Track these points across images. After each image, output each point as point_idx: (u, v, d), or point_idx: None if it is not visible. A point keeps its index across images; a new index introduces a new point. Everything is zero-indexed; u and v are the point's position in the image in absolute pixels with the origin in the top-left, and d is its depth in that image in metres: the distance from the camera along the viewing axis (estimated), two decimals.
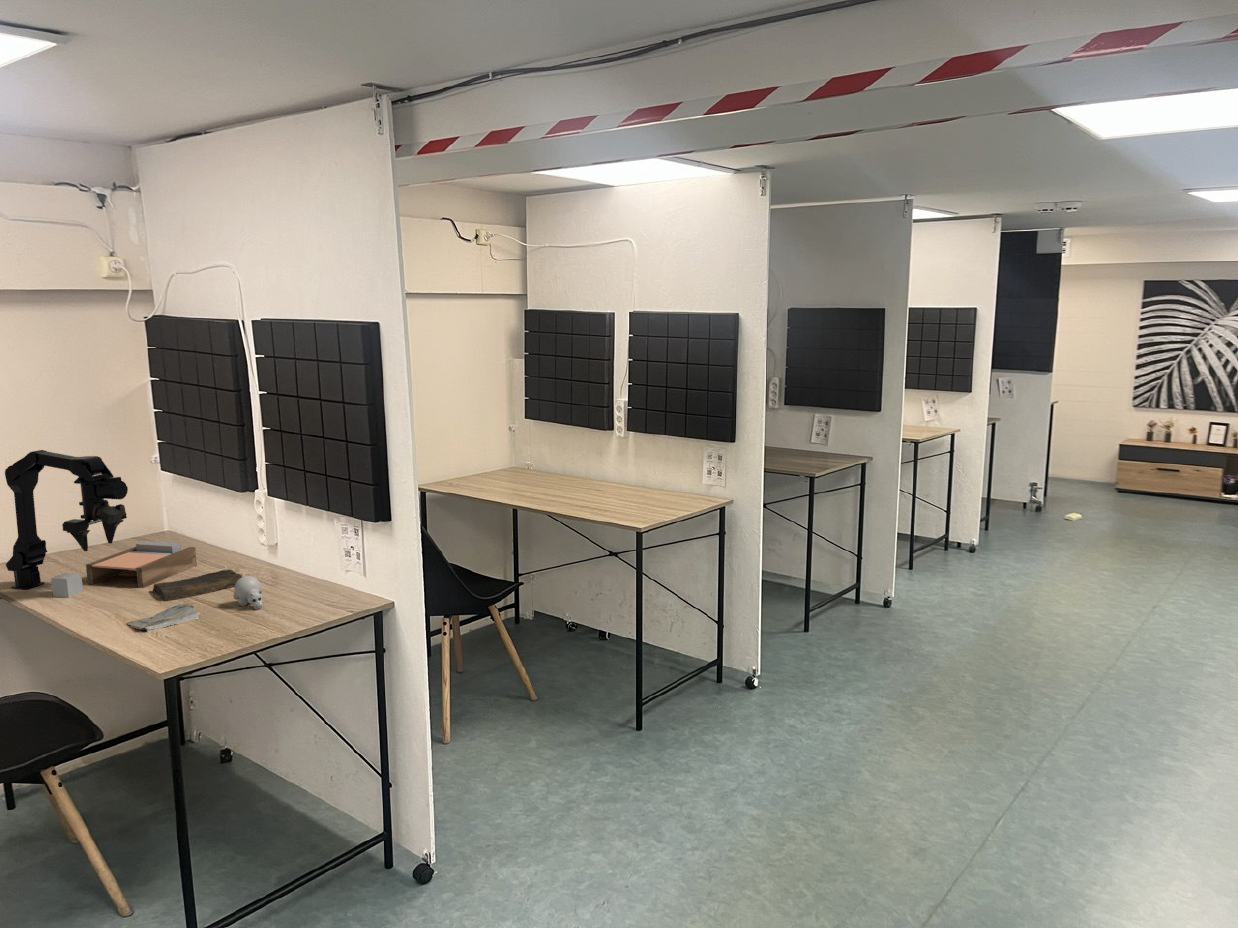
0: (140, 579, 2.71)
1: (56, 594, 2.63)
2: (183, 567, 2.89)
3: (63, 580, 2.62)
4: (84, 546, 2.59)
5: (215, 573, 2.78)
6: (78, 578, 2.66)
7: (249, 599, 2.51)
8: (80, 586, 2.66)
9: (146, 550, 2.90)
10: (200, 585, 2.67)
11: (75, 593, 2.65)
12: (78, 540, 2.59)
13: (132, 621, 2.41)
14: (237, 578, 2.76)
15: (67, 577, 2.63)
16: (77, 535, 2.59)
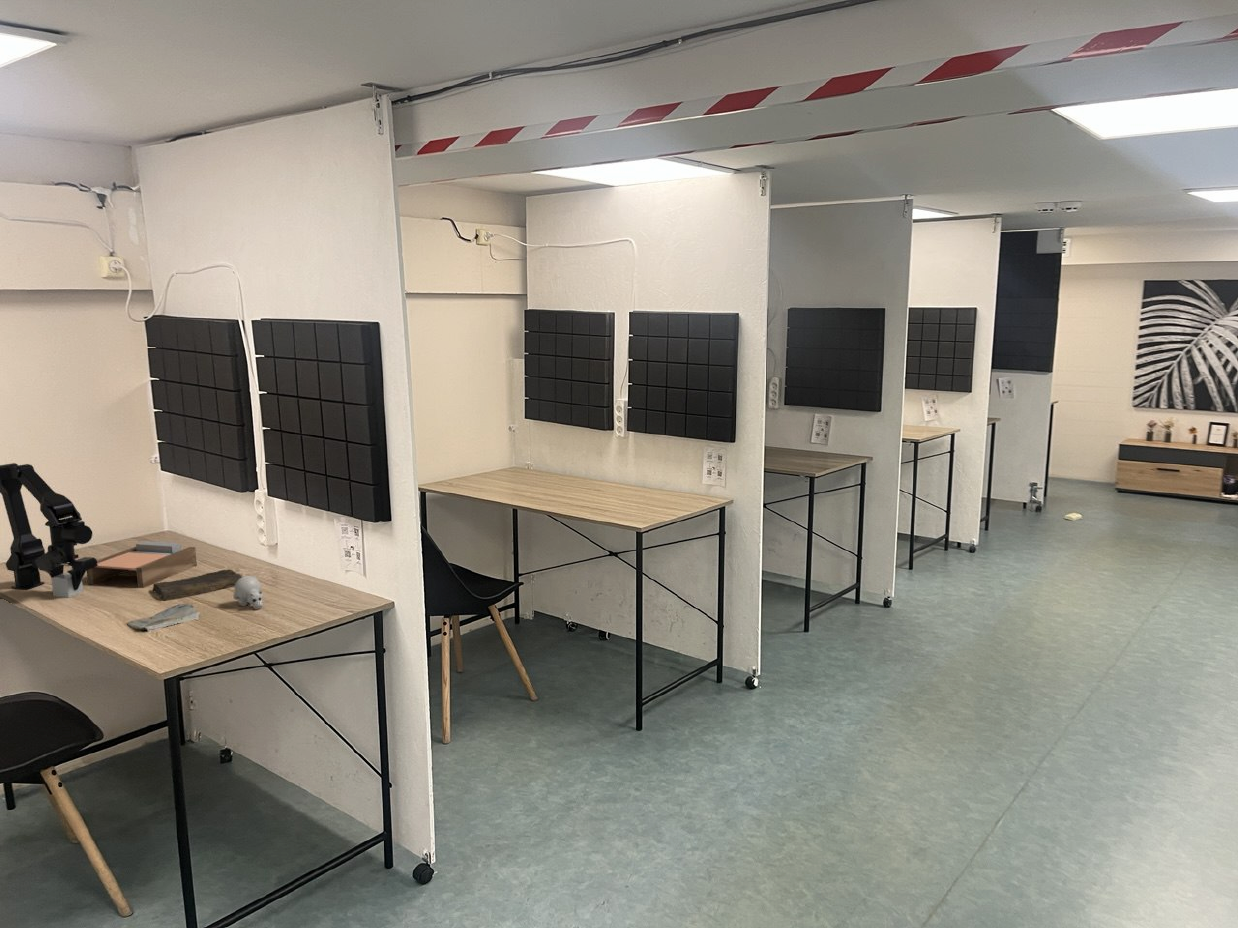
0: (140, 579, 2.71)
1: (56, 594, 2.63)
2: (183, 567, 2.89)
3: (63, 580, 2.62)
4: None
5: (215, 573, 2.78)
6: None
7: (249, 599, 2.51)
8: (80, 586, 2.66)
9: (146, 550, 2.90)
10: (199, 585, 2.67)
11: (75, 593, 2.65)
12: None
13: (132, 621, 2.41)
14: (237, 578, 2.76)
15: (67, 577, 2.63)
16: None
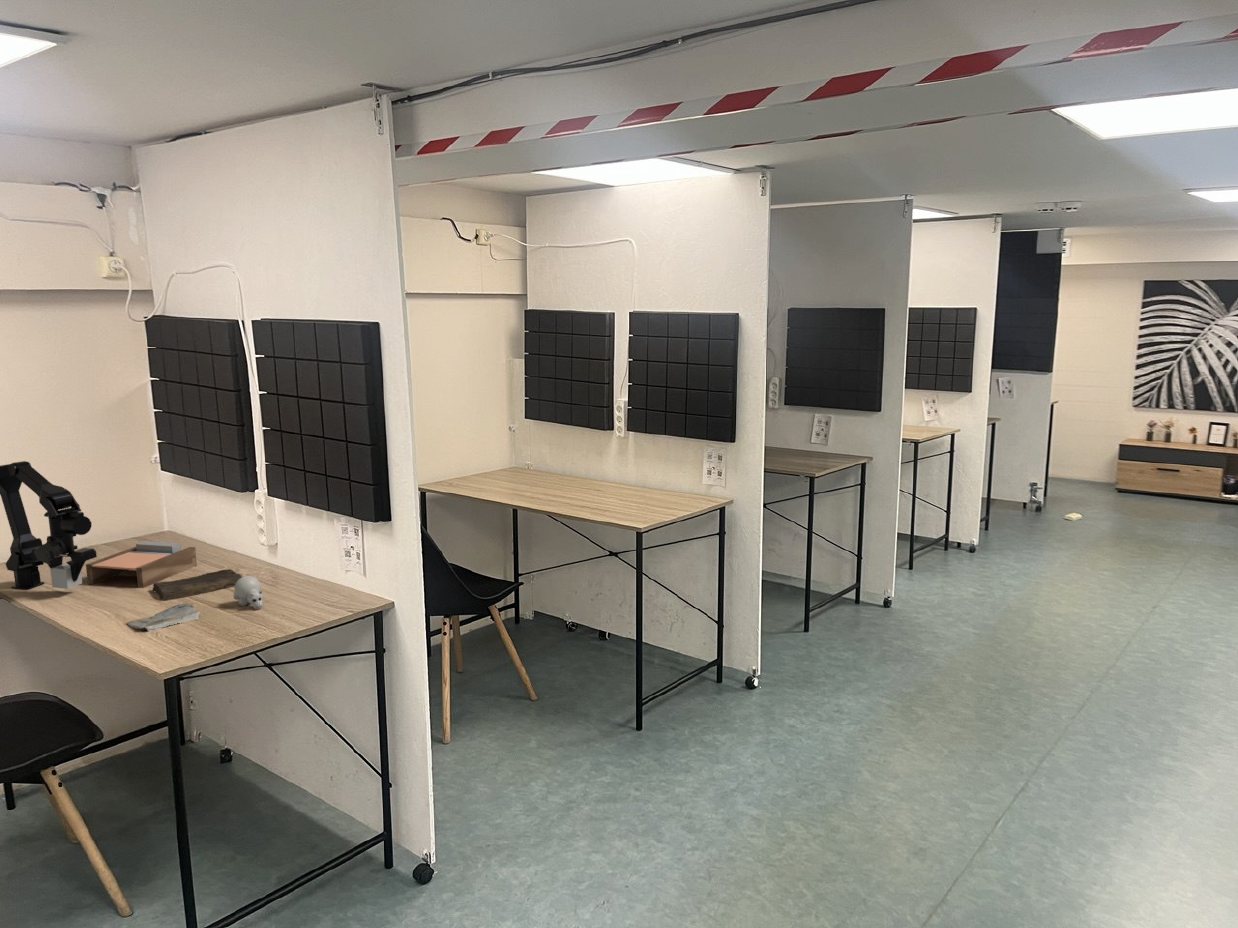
0: (140, 579, 2.71)
1: (55, 585, 2.62)
2: (183, 567, 2.89)
3: (62, 571, 2.61)
4: None
5: (215, 573, 2.78)
6: None
7: (249, 599, 2.51)
8: (79, 577, 2.66)
9: (146, 550, 2.90)
10: (199, 585, 2.67)
11: (74, 584, 2.64)
12: None
13: (132, 621, 2.41)
14: (236, 578, 2.76)
15: (66, 568, 2.62)
16: None
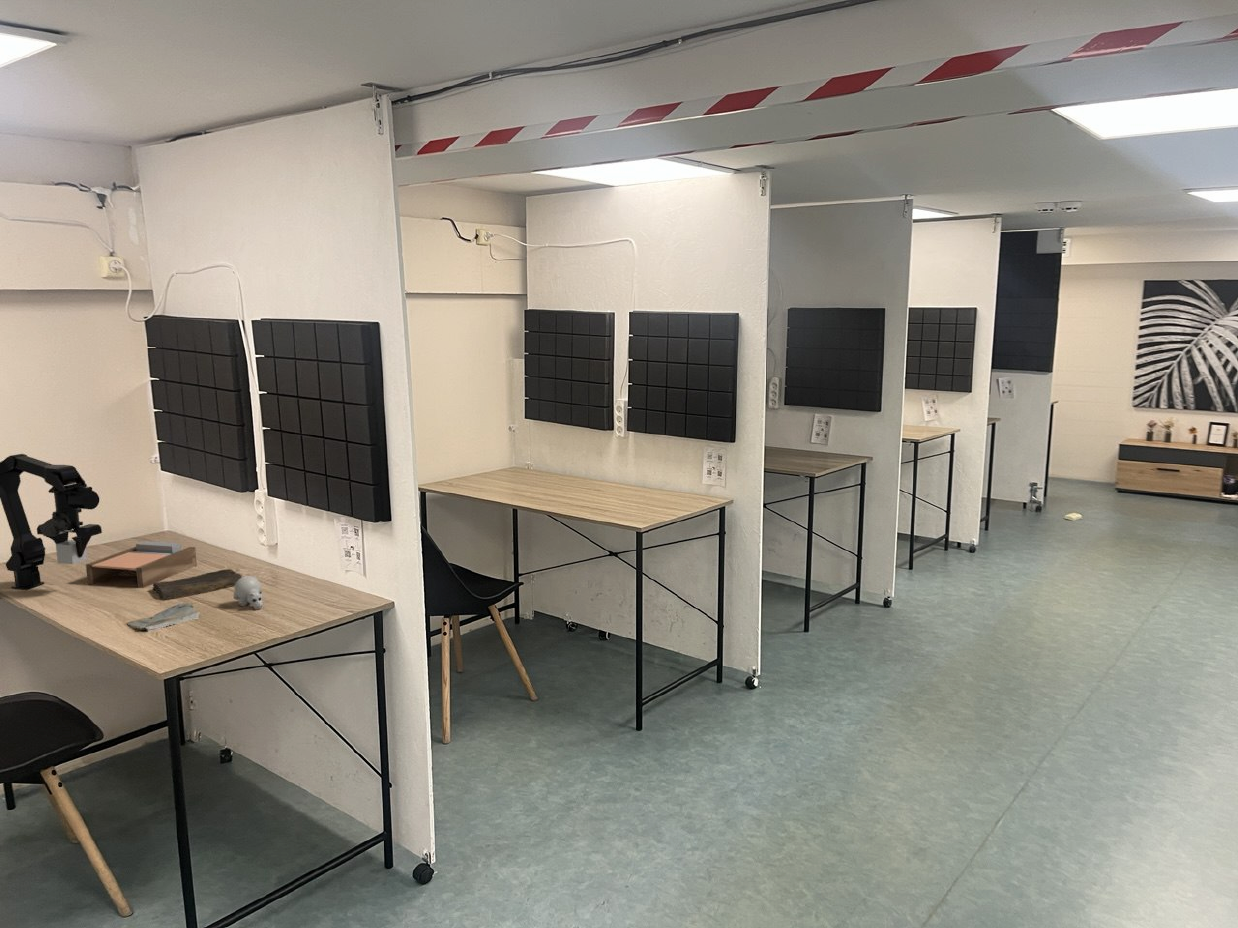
0: (140, 579, 2.71)
1: (60, 561, 2.63)
2: (183, 567, 2.89)
3: (67, 547, 2.61)
4: None
5: (215, 573, 2.78)
6: None
7: (249, 599, 2.51)
8: (84, 553, 2.66)
9: (146, 550, 2.90)
10: (199, 584, 2.67)
11: (79, 560, 2.64)
12: None
13: (132, 621, 2.41)
14: (236, 578, 2.76)
15: (71, 544, 2.63)
16: None
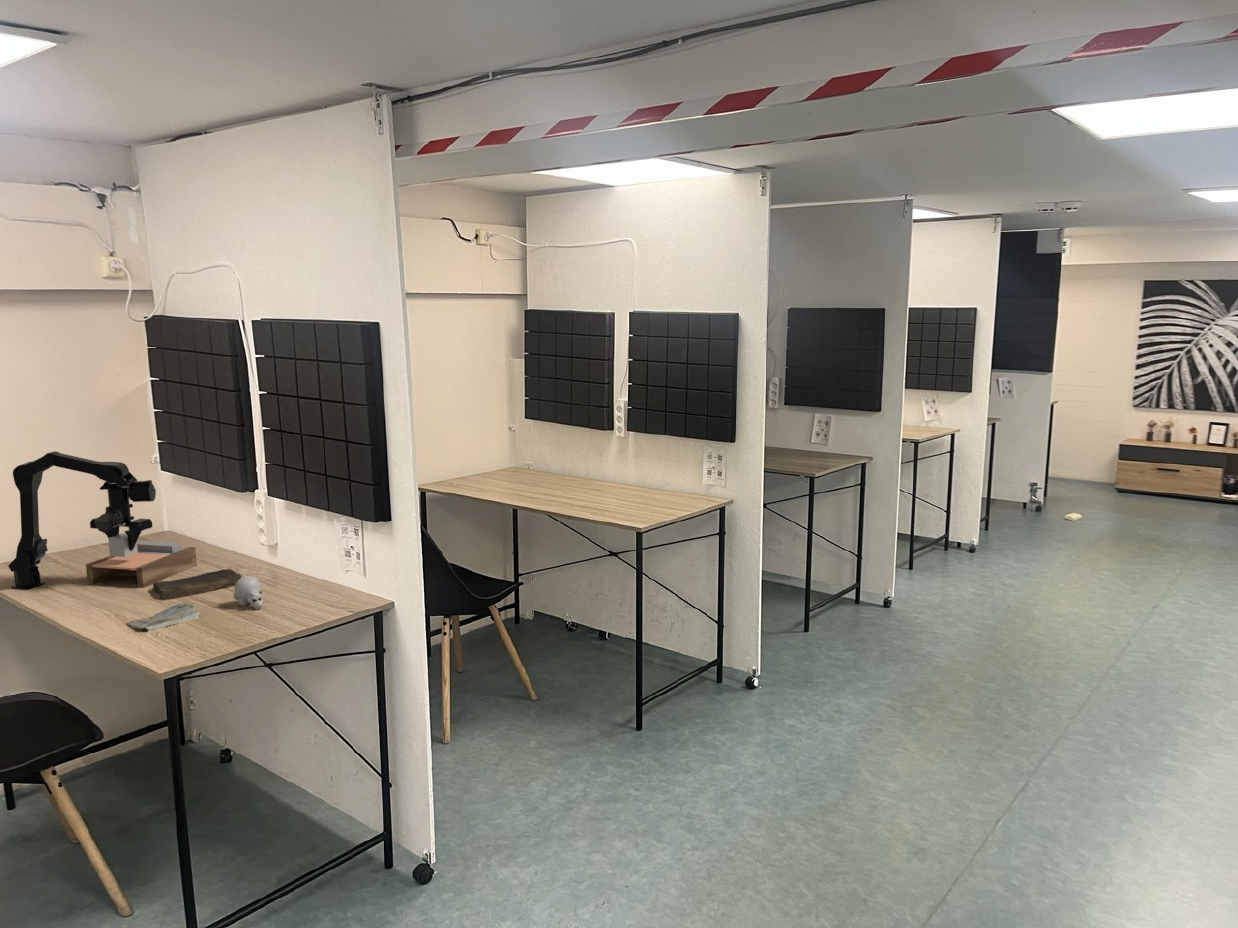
0: (140, 579, 2.71)
1: (112, 553, 2.74)
2: (183, 567, 2.89)
3: (120, 540, 2.73)
4: None
5: (215, 572, 2.78)
6: None
7: (249, 599, 2.51)
8: (135, 546, 2.78)
9: (146, 550, 2.90)
10: (198, 584, 2.67)
11: (130, 553, 2.76)
12: None
13: (132, 621, 2.41)
14: (236, 578, 2.76)
15: (123, 537, 2.74)
16: None
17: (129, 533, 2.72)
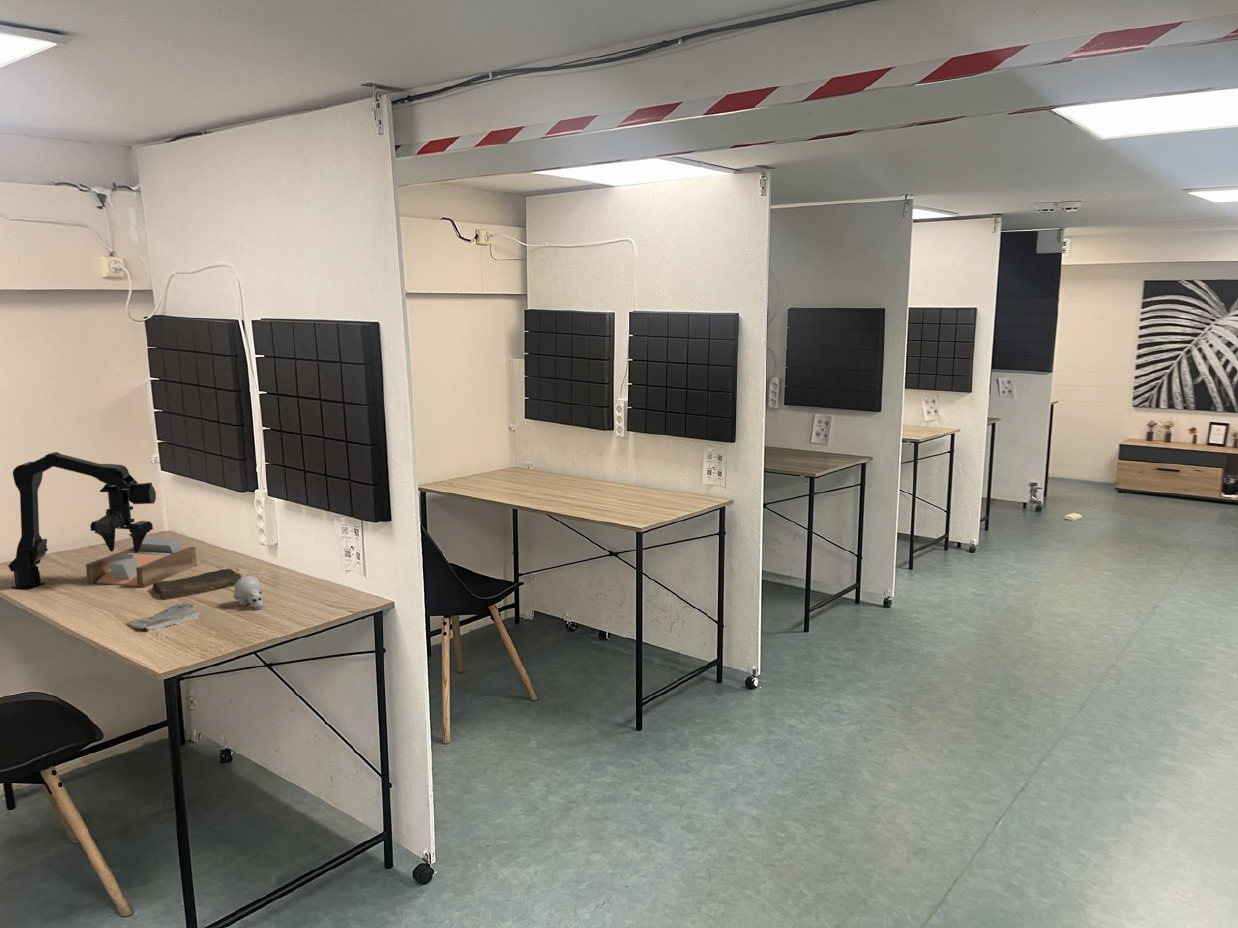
0: (140, 579, 2.71)
1: (116, 576, 2.76)
2: (183, 567, 2.89)
3: (120, 566, 2.73)
4: None
5: (214, 572, 2.79)
6: (133, 559, 2.77)
7: (249, 599, 2.51)
8: (136, 565, 2.78)
9: (145, 548, 2.90)
10: (198, 584, 2.68)
11: (134, 573, 2.78)
12: None
13: (132, 621, 2.41)
14: (236, 577, 2.76)
15: (122, 561, 2.74)
16: None
17: (134, 536, 2.72)
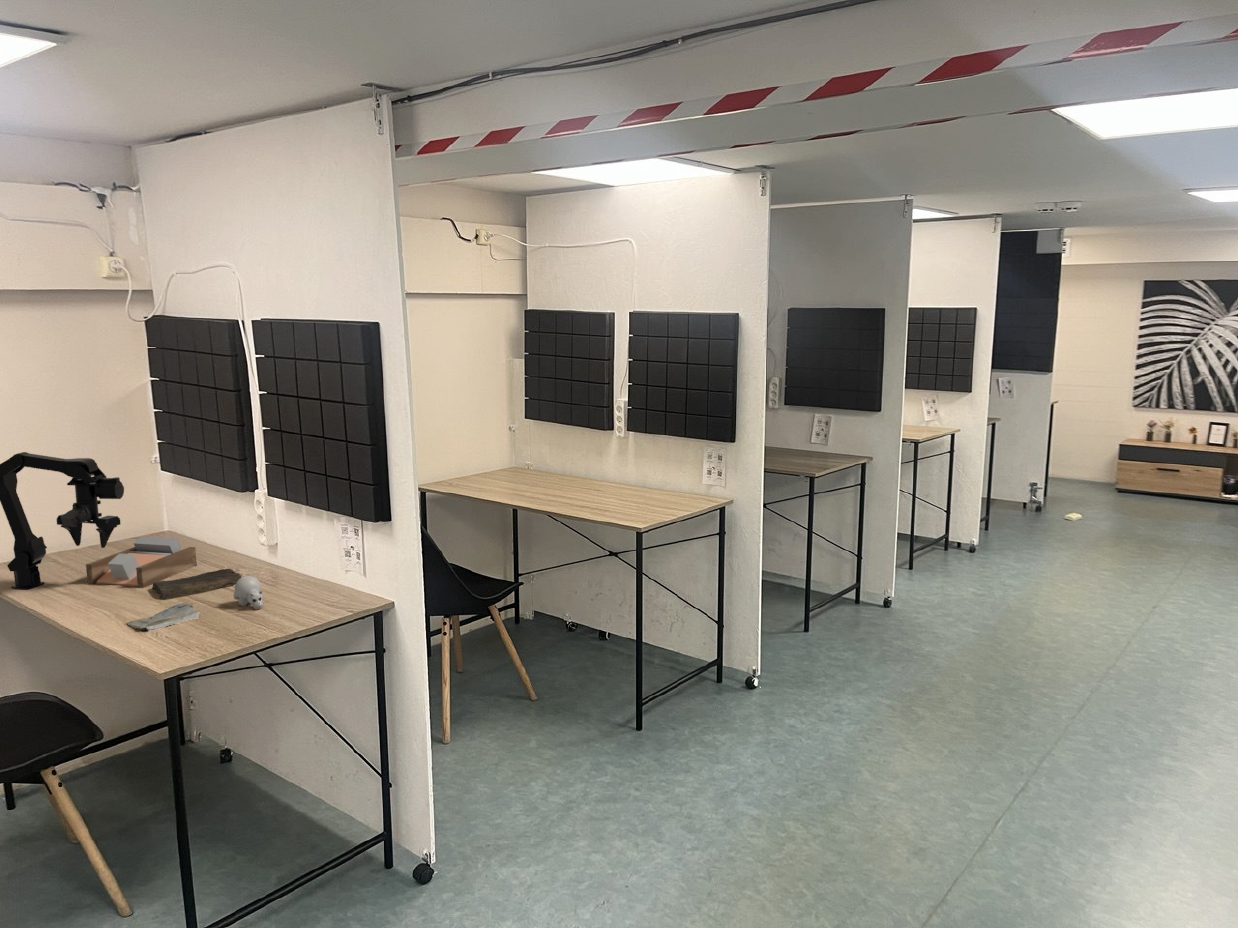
0: (140, 579, 2.71)
1: (116, 576, 2.76)
2: (183, 567, 2.89)
3: (120, 566, 2.73)
4: None
5: (214, 572, 2.79)
6: (133, 559, 2.77)
7: (249, 599, 2.51)
8: (136, 565, 2.78)
9: (145, 548, 2.90)
10: (198, 584, 2.68)
11: (134, 573, 2.77)
12: None
13: (132, 621, 2.41)
14: (236, 577, 2.77)
15: (122, 562, 2.74)
16: None
17: (101, 530, 2.68)
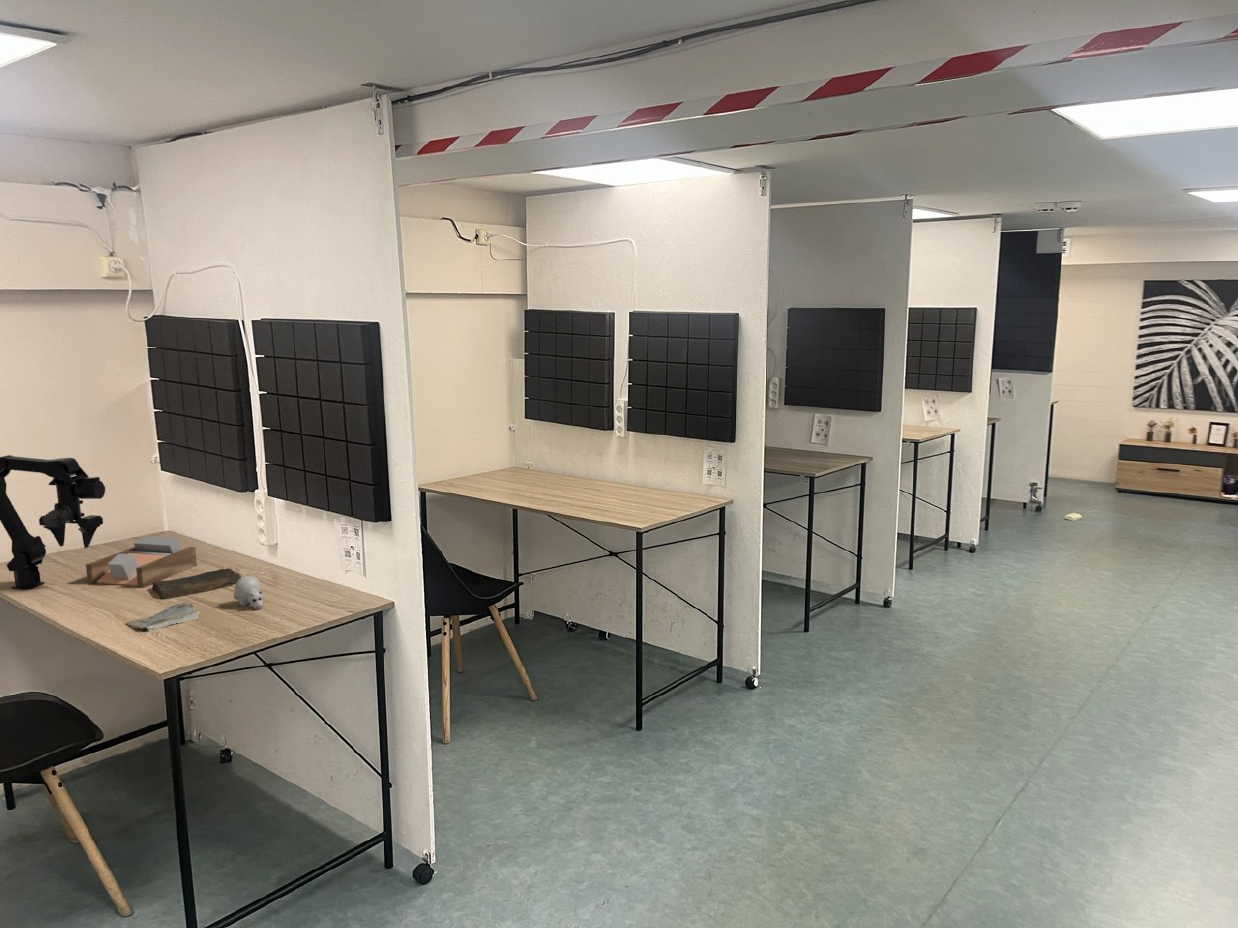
0: (140, 579, 2.71)
1: (116, 577, 2.76)
2: (183, 567, 2.89)
3: (119, 566, 2.73)
4: None
5: (214, 572, 2.79)
6: (133, 559, 2.77)
7: (249, 599, 2.51)
8: (136, 565, 2.78)
9: (145, 548, 2.90)
10: (198, 584, 2.68)
11: (133, 573, 2.77)
12: None
13: (132, 621, 2.41)
14: (235, 577, 2.77)
15: (122, 562, 2.74)
16: None
17: (83, 530, 2.66)
